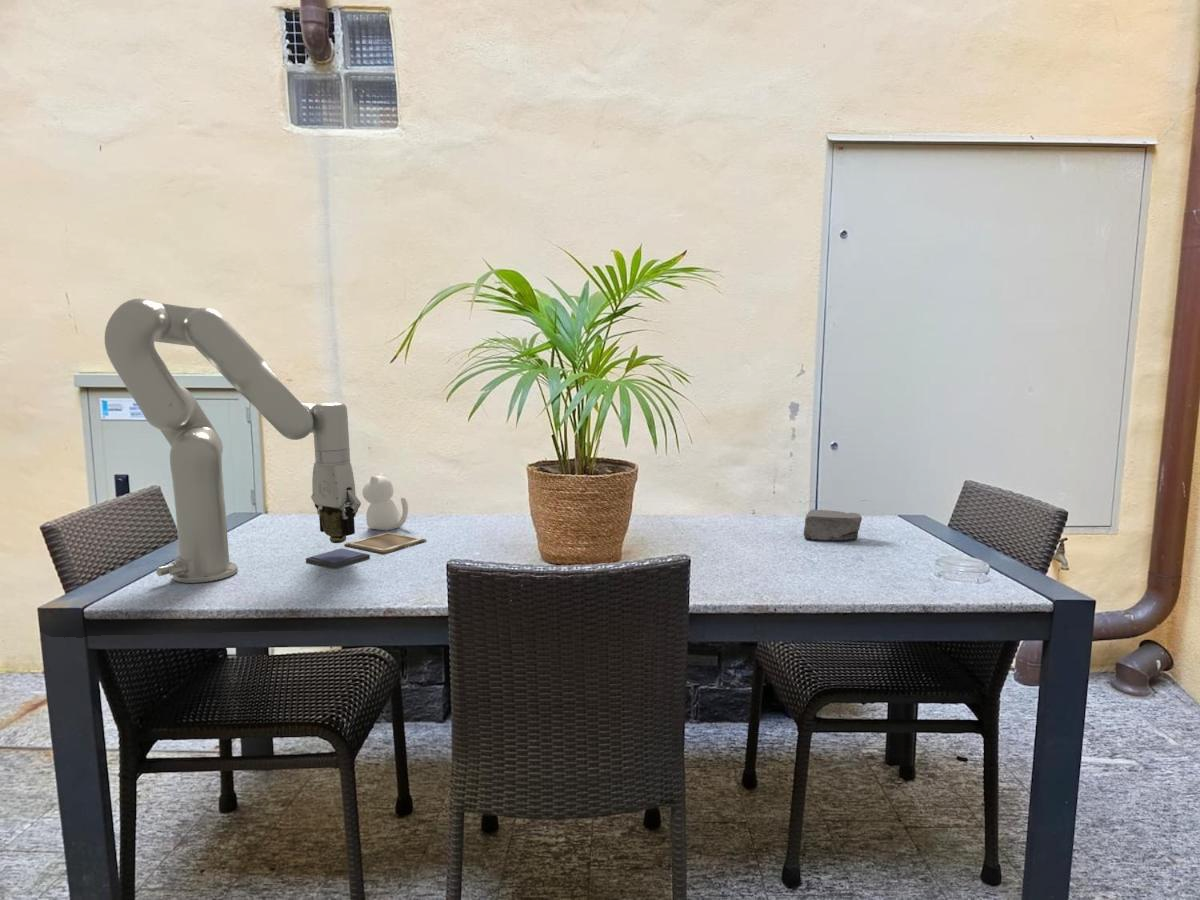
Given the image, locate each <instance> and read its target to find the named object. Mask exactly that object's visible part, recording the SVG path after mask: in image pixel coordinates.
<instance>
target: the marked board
mask: <svg viewBox="0 0 1200 900" xmlns="http://www.w3.org/2000/svg"><path fill="white" fill-rule="evenodd" d="M424 541H426V542H427V539H426V538H421V537H417V536H416V537H415V536H411V535H410V536H409V535H405V534H400V533H394V532H390V531H387V532H384V533H380V534H376V535H372V536H369V537H365V538H361V539H358V540H354V541H349V542H347V543H344V546H345V547H347V546H349V547H348V548H352V547H353V548H352V549H356V548H358V549H357V550H361V549H363V550H362V551H365V550H367V551H366V552H370V551H372V552H371V553H376V554H379V553H380V555H386V554H388V553H392V551H393V552H396V551H398V550H399V551H400V550H402V548H403V549H406V548H409V547H412V545H413V546H416V545H419V544H422V543H421V542H423V543H425V542H424ZM418 543H419V544H418ZM415 544H416V545H415ZM408 546H409V547H408ZM405 547H406V548H405ZM385 553H386V554H385Z"/></svg>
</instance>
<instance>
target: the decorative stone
mask: <svg viewBox="0 0 1200 900" xmlns="http://www.w3.org/2000/svg"><path fill="white" fill-rule="evenodd" d="M862 518H863V517H862V515H861V514H860V513H856V512H844V511H840V510H828V509H827V510H826V509H811V510H810V511H808V513H807V514H806V515H805V519H804V527H803V537H804V539H805V540H807V541H813V542H824V543H825V542H828V543H829V542H831V543H832V542H833V543H844V542H853V541H856V540H857V538H859V531H860V527H861V523H862V522H863V521H862V520H863V519H862Z"/></svg>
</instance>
